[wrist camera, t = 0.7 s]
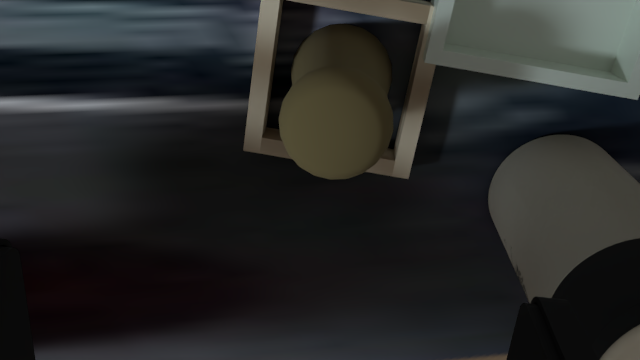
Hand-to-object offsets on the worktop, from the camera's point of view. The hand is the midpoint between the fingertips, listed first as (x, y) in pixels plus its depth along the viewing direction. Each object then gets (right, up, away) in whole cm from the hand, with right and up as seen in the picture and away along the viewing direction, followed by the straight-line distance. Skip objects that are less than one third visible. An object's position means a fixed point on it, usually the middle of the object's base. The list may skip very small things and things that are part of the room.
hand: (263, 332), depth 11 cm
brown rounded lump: (+2, +9, +25) cm, 27 cm away
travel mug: (+16, +2, +27) cm, 31 cm away
